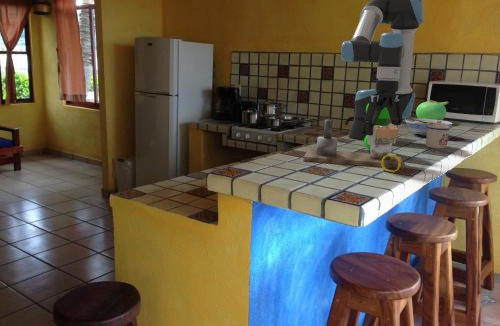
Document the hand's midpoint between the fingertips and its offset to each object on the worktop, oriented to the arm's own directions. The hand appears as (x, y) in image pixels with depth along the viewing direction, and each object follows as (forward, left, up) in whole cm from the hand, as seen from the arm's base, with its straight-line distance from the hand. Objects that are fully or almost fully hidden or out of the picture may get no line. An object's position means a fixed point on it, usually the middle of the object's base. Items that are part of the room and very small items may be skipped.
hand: (381, 143), depth 154 cm
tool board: (-7, -7, -7) cm, 12 cm away
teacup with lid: (-12, +51, -7) cm, 52 cm away
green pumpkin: (-71, +126, -7) cm, 145 cm away
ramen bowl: (-36, +75, -7) cm, 84 cm away
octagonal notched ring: (0, 0, +3) cm, 3 cm away
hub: (0, 0, -5) cm, 5 cm away
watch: (+11, -8, -7) cm, 15 cm away
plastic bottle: (-16, +15, -7) cm, 23 cm away
